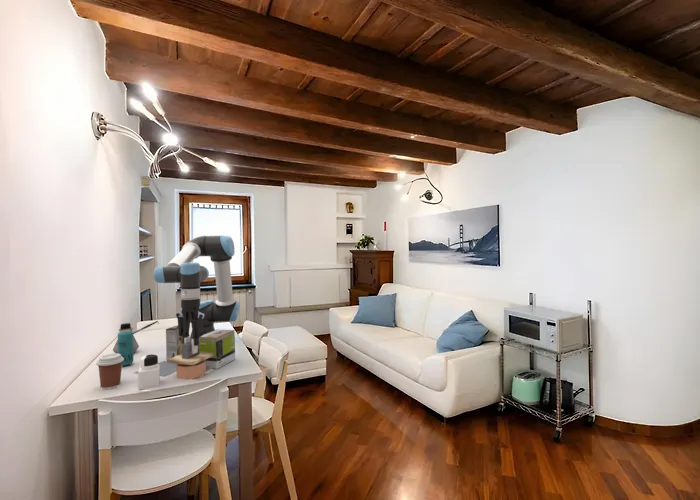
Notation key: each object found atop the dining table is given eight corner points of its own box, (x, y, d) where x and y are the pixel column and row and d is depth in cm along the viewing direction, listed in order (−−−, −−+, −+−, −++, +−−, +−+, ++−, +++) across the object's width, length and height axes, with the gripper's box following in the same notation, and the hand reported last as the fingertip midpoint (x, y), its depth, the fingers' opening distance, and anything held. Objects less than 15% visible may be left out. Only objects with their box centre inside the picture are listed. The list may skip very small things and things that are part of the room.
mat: (163, 362, 167) (163, 360, 167) (193, 365, 162) (193, 363, 162) (132, 374, 150) (132, 373, 150) (164, 377, 146) (164, 376, 146)
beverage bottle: (119, 365, 163) (118, 322, 163) (135, 363, 165) (135, 321, 165) (115, 369, 157) (115, 325, 157) (132, 367, 159) (131, 324, 159)
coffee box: (178, 356, 176) (178, 324, 176) (189, 356, 175) (189, 325, 175) (165, 361, 167) (165, 328, 167) (177, 362, 166) (177, 329, 166)
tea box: (218, 358, 173) (218, 328, 173) (235, 359, 170) (235, 329, 170) (197, 368, 158) (197, 335, 158) (216, 369, 156) (216, 337, 156)
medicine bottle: (159, 381, 142) (159, 352, 142) (159, 387, 136) (159, 356, 136) (139, 384, 139) (139, 354, 139) (138, 390, 133) (138, 359, 133)
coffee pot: (114, 357, 174) (114, 328, 174) (111, 352, 183) (111, 324, 183) (161, 349, 188) (161, 322, 188) (156, 345, 197) (156, 319, 197)
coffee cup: (125, 386, 137) (125, 356, 137) (97, 392, 131) (96, 361, 131) (122, 379, 144) (122, 351, 144) (95, 385, 138) (95, 355, 138)
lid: (189, 353, 157) (189, 337, 157) (213, 355, 153) (213, 339, 153) (166, 362, 144) (166, 345, 144) (192, 365, 141) (192, 347, 141)
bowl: (189, 369, 156) (189, 357, 156) (210, 371, 153) (210, 359, 153) (170, 378, 145) (170, 365, 145) (192, 381, 142) (192, 367, 142)
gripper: (168, 299, 147) (168, 353, 147) (200, 300, 143) (200, 356, 143) (181, 296, 155) (181, 349, 155) (212, 297, 150) (212, 351, 150)
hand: (191, 352), depth 149 cm, fingers closed on lid, 3 cm apart
